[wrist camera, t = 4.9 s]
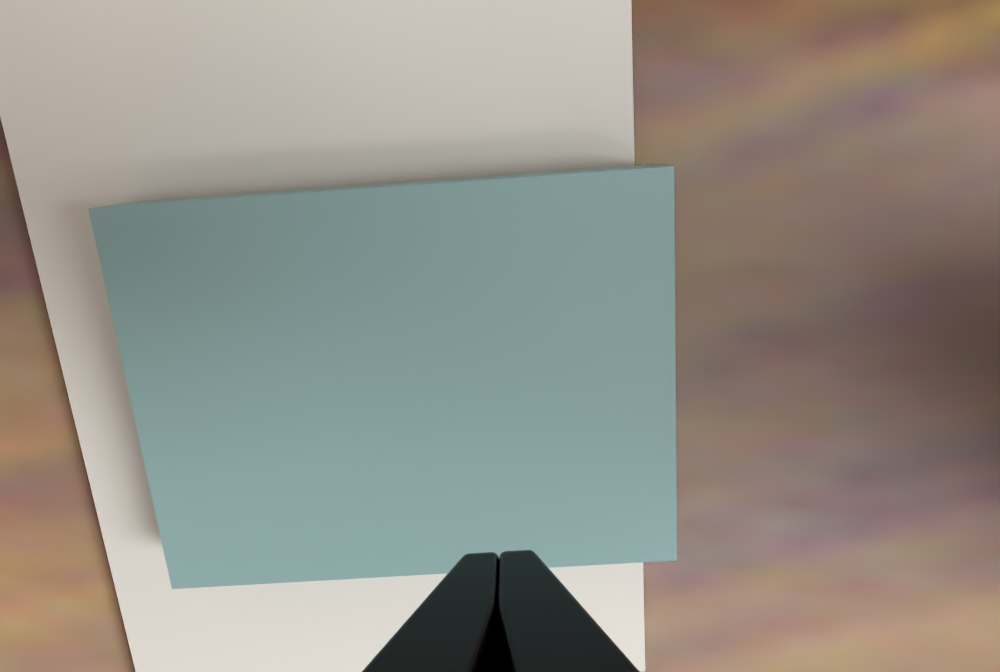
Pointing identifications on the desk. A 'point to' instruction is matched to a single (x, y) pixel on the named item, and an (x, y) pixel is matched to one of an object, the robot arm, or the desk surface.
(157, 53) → the mat
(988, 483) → the desk surface
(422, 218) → the tile
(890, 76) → the desk surface
